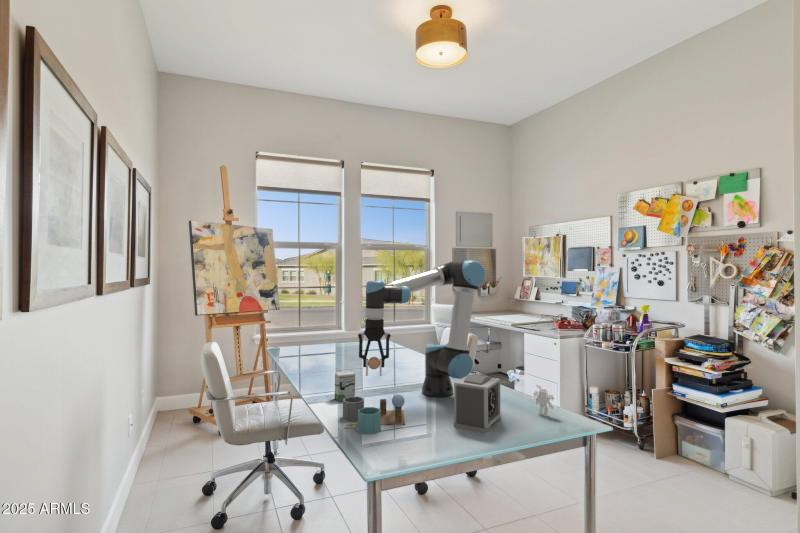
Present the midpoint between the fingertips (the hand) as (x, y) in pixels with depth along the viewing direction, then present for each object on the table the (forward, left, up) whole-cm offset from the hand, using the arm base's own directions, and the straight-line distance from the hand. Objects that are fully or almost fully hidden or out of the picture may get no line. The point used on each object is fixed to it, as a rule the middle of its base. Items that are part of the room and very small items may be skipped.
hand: (373, 375), depth 175 cm
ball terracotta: (0, 0, +5) cm, 5 cm away
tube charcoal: (+8, +2, -16) cm, 18 cm away
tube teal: (+1, +16, -16) cm, 23 cm away
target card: (+7, +12, -16) cm, 21 cm away
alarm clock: (-41, +10, -17) cm, 45 cm away
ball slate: (-10, +8, -8) cm, 15 cm away
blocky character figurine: (-70, +2, -17) cm, 72 cm away
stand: (-7, +3, -16) cm, 18 cm away
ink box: (+14, -23, -17) cm, 32 cm away
